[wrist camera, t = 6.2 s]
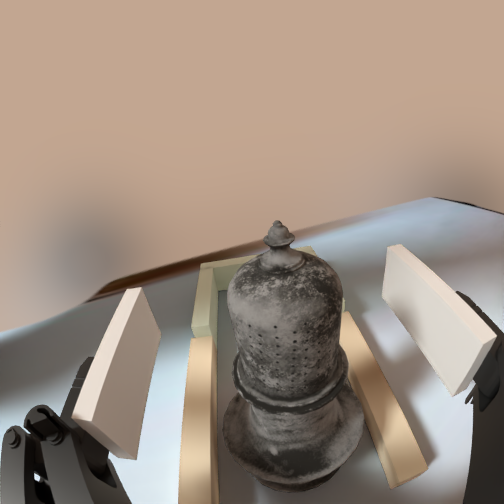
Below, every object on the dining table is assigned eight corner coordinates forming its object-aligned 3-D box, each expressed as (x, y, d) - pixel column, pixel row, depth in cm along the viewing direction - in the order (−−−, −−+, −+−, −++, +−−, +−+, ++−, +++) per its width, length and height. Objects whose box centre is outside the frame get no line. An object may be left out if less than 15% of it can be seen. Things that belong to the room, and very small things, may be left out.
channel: (417, 477, 7) (428, 468, 7) (189, 522, 7) (178, 519, 7) (346, 326, 19) (348, 311, 18) (196, 352, 18) (191, 338, 18)
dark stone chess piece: (300, 387, 15) (286, 178, 9) (374, 443, 10) (454, 214, 5) (216, 441, 12) (118, 234, 7) (285, 518, 7) (234, 399, 2)
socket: (342, 327, 19) (345, 300, 17) (200, 352, 18) (191, 327, 17) (311, 268, 27) (310, 245, 25) (206, 285, 26) (200, 263, 25)
